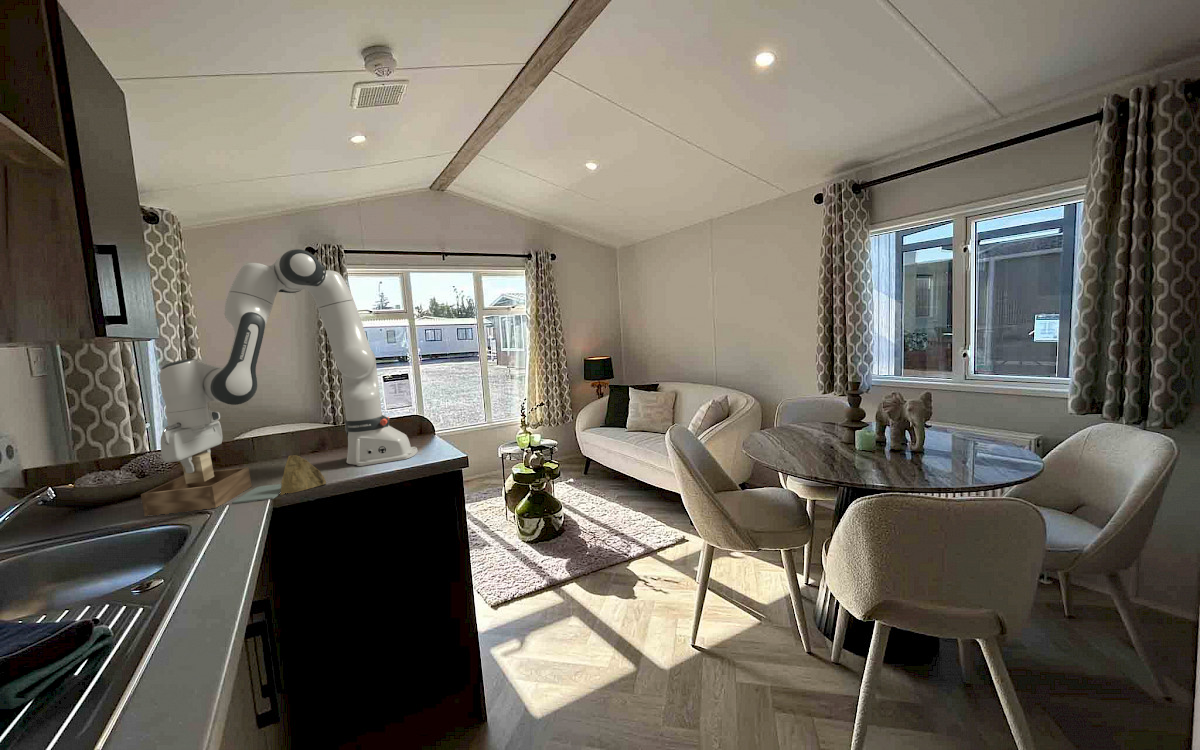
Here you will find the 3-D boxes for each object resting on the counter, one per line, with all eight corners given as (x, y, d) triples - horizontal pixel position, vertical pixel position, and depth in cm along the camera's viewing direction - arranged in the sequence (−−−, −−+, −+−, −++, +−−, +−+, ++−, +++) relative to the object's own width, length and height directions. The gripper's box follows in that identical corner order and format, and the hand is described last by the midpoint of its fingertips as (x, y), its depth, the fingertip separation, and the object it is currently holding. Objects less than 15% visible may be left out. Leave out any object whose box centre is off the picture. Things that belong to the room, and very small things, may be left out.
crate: (251, 486, 148) (248, 467, 147) (215, 508, 131) (212, 486, 130) (189, 494, 146) (186, 474, 145) (144, 516, 128) (140, 494, 128)
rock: (334, 472, 148) (299, 470, 148) (325, 454, 143) (289, 452, 142) (318, 504, 141) (282, 502, 140) (308, 486, 135) (270, 485, 134)
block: (214, 476, 140) (209, 452, 139) (204, 481, 136) (199, 456, 135) (196, 478, 139) (191, 454, 138) (186, 483, 135) (181, 458, 134)
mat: (294, 484, 147) (294, 482, 147) (272, 499, 135) (272, 497, 135) (257, 488, 146) (257, 486, 146) (232, 503, 133) (231, 502, 133)
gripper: (176, 426, 126) (186, 479, 127) (223, 411, 146) (231, 457, 147) (148, 429, 125) (158, 482, 126) (199, 414, 145) (208, 460, 146)
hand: (198, 469), depth 137 cm, fingers closed on block, 4 cm apart
